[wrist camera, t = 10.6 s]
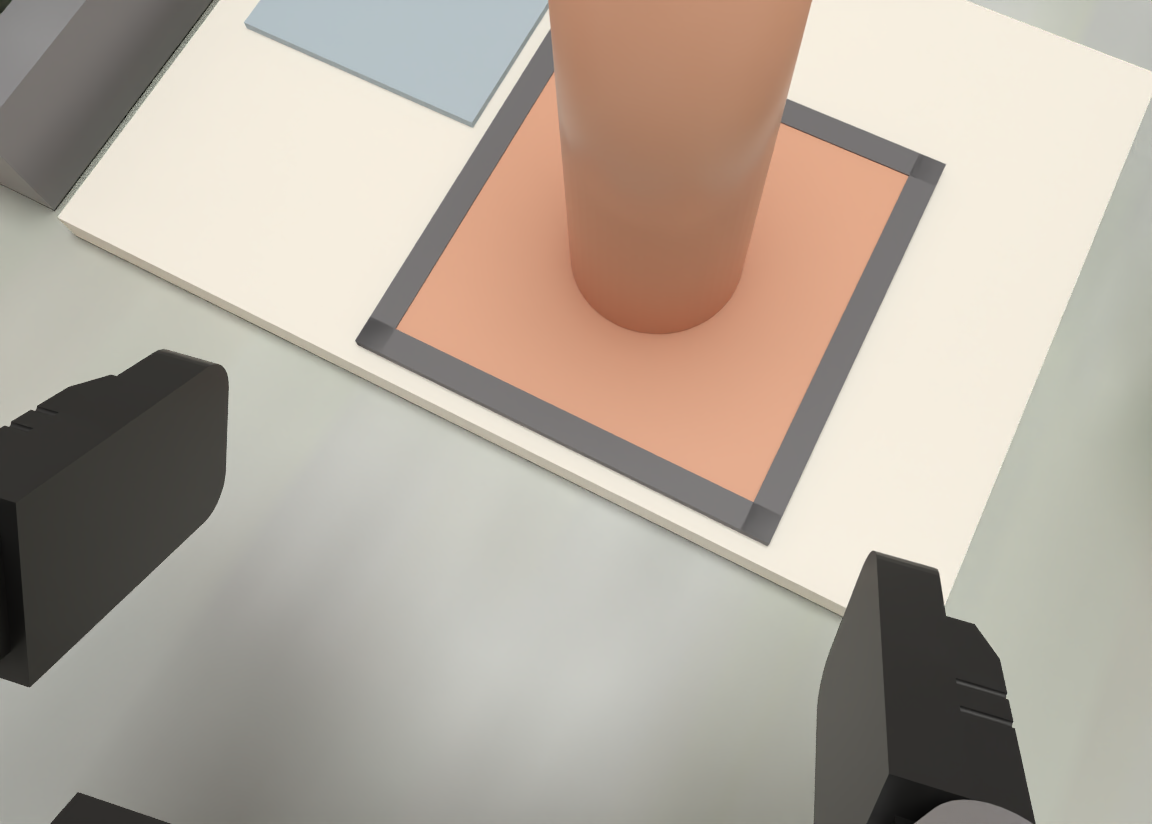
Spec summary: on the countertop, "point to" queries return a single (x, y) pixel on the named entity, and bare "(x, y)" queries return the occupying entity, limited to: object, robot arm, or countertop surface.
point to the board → (610, 352)
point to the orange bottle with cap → (667, 146)
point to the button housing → (76, 81)
